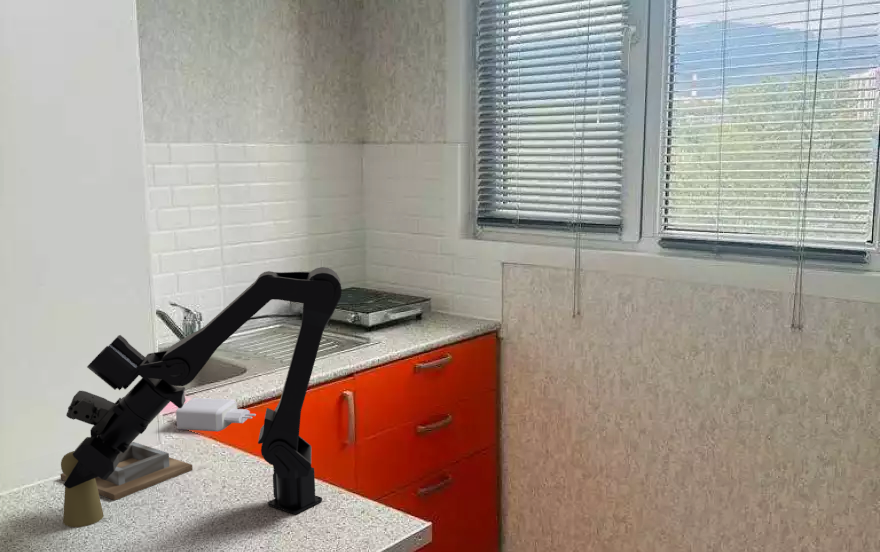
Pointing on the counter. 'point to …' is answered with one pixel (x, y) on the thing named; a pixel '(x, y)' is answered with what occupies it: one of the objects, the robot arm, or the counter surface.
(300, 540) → the counter surface
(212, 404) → the charger
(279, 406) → the robot arm
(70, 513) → the cork
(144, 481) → the socket base
